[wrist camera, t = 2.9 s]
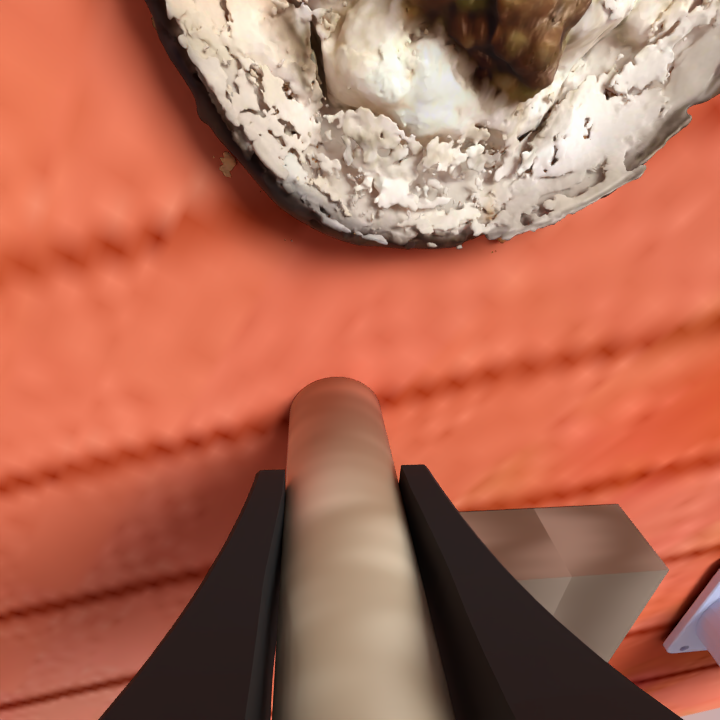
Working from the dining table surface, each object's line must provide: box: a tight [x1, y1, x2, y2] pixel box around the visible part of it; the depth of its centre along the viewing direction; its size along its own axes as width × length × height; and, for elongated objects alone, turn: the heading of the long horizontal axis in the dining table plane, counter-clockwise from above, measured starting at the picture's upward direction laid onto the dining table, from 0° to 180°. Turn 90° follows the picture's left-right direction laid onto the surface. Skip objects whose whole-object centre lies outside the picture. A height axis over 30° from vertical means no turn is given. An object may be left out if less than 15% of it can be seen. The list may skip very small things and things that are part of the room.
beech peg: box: [272, 377, 455, 720], centre depth 10 cm, size 3×3×10 cm
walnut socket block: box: [459, 504, 669, 663], centre depth 19 cm, size 12×12×3 cm
